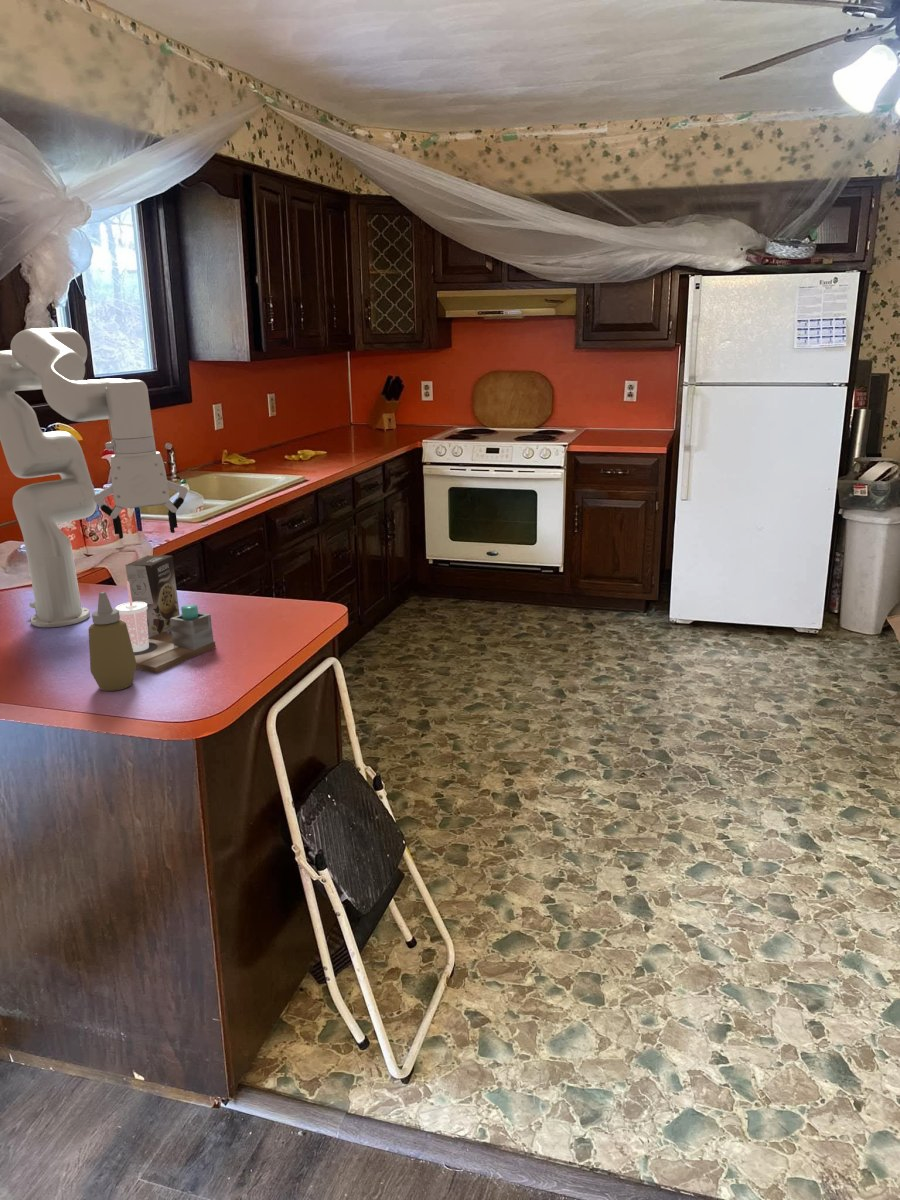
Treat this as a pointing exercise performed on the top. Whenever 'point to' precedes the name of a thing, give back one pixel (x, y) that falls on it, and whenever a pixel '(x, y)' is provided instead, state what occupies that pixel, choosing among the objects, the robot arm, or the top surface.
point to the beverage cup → (135, 622)
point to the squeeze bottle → (110, 648)
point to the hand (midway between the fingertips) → (147, 534)
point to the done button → (189, 612)
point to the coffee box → (155, 590)
